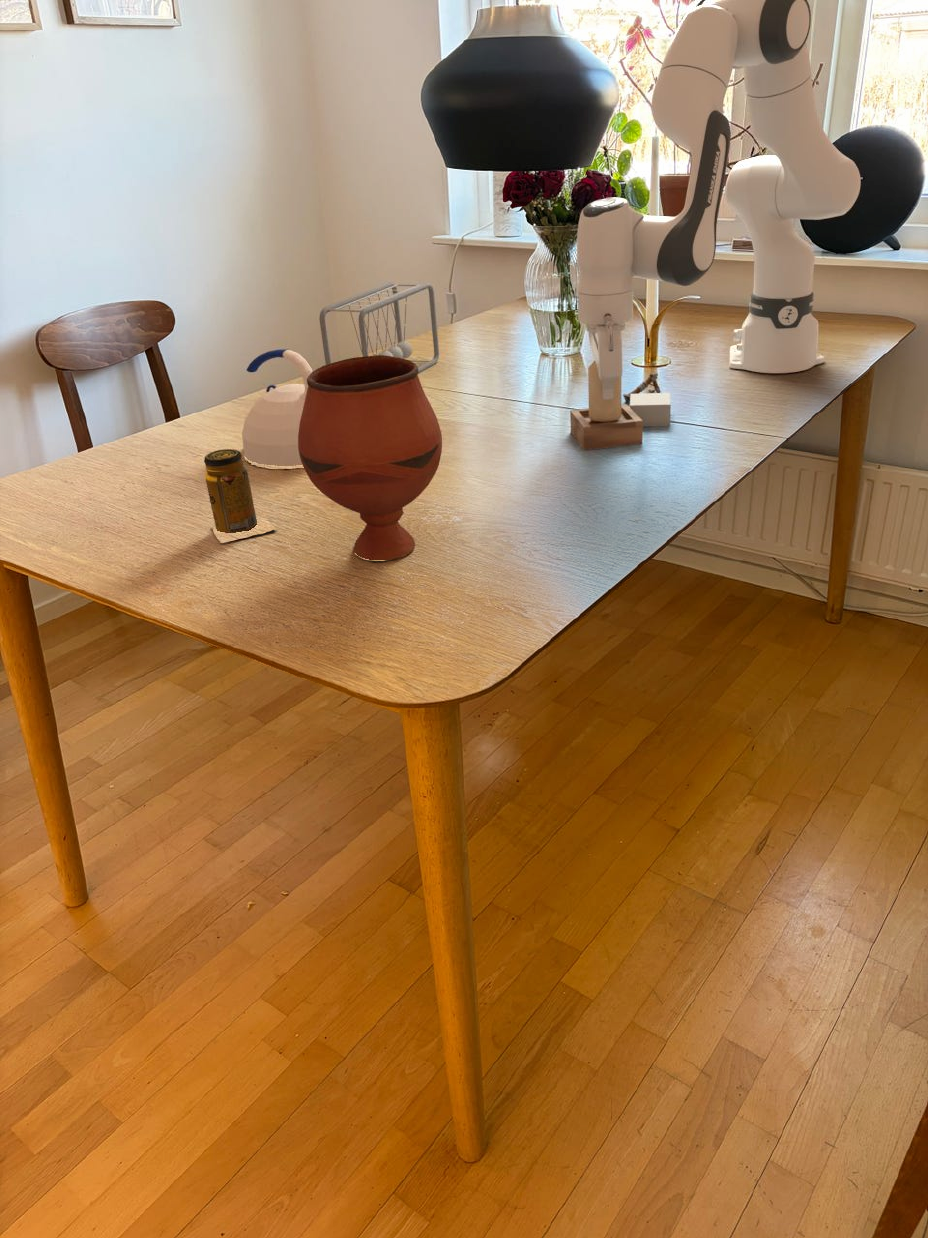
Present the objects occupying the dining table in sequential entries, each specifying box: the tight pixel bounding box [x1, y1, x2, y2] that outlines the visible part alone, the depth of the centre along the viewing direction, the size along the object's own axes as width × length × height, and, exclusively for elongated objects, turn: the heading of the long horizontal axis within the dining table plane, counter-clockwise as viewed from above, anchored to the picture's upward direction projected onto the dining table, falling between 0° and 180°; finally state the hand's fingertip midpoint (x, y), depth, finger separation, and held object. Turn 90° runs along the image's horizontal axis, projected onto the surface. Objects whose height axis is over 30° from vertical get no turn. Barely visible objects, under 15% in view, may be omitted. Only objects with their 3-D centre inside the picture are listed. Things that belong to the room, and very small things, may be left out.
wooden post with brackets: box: [622, 372, 661, 403], centre depth 187 cm, size 2×8×4 cm, turn 121°
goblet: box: [298, 354, 443, 561], centre depth 130 cm, size 19×19×25 cm
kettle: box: [241, 348, 314, 466], centre depth 172 cm, size 20×21×18 cm
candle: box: [587, 360, 623, 422], centre depth 165 cm, size 6×6×10 cm
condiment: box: [203, 448, 257, 533], centre depth 143 cm, size 7×8×12 cm
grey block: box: [629, 392, 672, 427], centre depth 176 cm, size 7×7×4 cm
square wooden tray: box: [569, 403, 644, 451], centre depth 169 cm, size 10×10×4 cm
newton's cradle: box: [318, 281, 440, 374], centre depth 210 cm, size 30×10×18 cm, turn 153°
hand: (606, 392), depth 166 cm, fingers closed on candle, 5 cm apart
